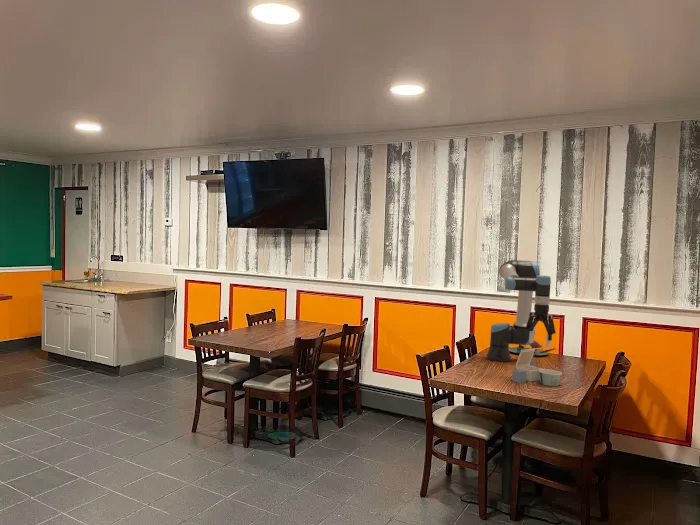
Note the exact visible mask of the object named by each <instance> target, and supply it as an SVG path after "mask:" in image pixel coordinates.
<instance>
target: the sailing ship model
mask: <svg viewBox="0 0 700 525" xmlns="http://www.w3.org/2000/svg"><path fill="white" fill-rule="evenodd" d="M529 346H530V347H527V345H518V346H513V347H509V352H512V353H515V354H520V352H521V350H522V348H528V349H535V351H534V354H535V353H539V352H542V351H545V350H543V345H542V344H540V343H539V342H538V341H537V340H535V339H534V340H533V343H532V344H531V345H529ZM540 348H541V349H540ZM548 354H549V352H545V353H540V354H537V355H536V356H545V355H548Z"/></svg>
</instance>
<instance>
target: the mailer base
mask: <svg viewBox="0 0 700 525" xmlns="http://www.w3.org/2000/svg"><path fill="white" fill-rule="evenodd" d="M516 369H520V370H524V371H526V382H530V383H532V382H533V383H534V382H540V374H539V371H538V370H541V369H543V368H541V367H538V366H537V367H534V366H530V365H529V366H520V367H515V370H516Z"/></svg>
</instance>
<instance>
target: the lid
mask: <svg viewBox="0 0 700 525" xmlns="http://www.w3.org/2000/svg"><path fill="white" fill-rule="evenodd" d="M535 349H536V348H532V349H526V350H521V352H520V353H519V355H518V357H517V361H516V363H515V368H516V367H520V366H521V365H522V366H529V364H530V362H531V359H532V357H534V356H533V354H534V351H535Z"/></svg>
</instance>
